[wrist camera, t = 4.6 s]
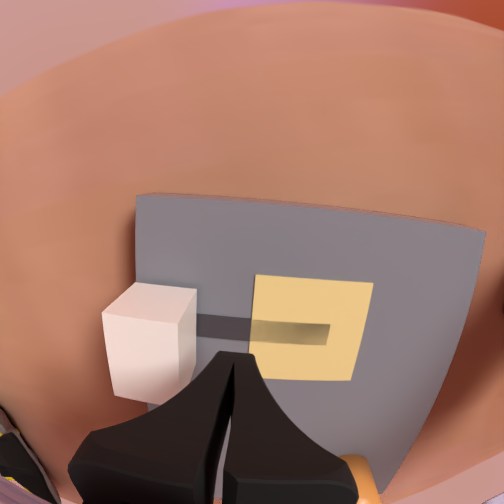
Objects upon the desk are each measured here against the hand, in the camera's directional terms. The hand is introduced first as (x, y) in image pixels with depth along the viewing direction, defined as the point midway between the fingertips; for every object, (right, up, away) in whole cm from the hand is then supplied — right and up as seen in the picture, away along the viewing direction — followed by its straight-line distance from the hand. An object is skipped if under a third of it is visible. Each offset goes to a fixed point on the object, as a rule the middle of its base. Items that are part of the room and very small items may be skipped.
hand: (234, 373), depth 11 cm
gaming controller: (-25, -16, +11) cm, 32 cm away
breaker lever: (-3, +1, +4) cm, 5 cm away
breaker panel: (+4, -4, +7) cm, 9 cm away
